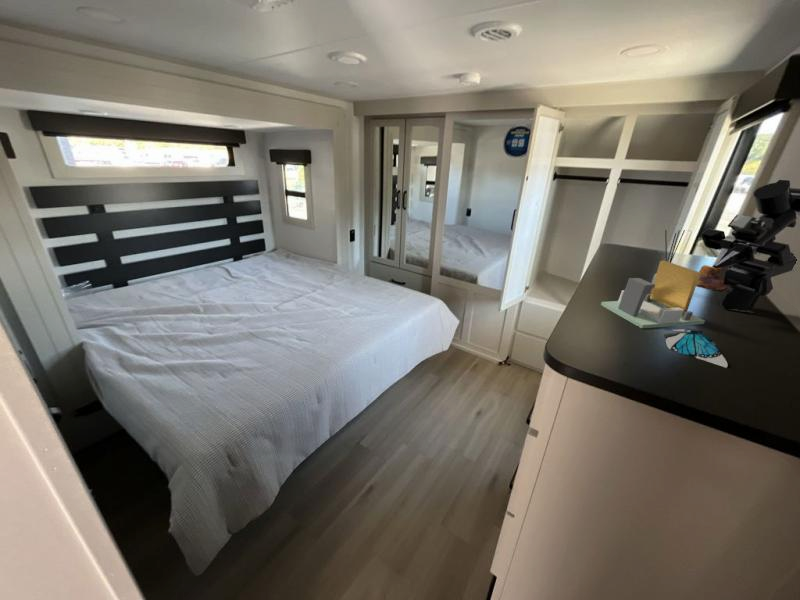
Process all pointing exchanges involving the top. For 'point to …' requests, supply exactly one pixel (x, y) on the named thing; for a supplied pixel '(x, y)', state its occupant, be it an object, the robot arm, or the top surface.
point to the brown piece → (711, 278)
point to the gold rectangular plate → (674, 286)
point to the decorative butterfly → (695, 346)
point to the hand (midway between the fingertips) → (714, 267)
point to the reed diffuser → (670, 250)
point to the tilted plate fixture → (647, 308)
